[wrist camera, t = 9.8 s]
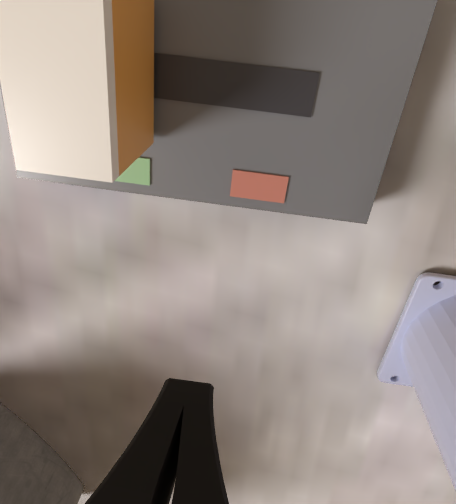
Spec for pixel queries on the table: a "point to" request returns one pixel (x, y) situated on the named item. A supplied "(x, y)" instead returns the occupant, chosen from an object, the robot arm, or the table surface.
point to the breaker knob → (78, 84)
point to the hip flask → (32, 467)
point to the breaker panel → (275, 103)
